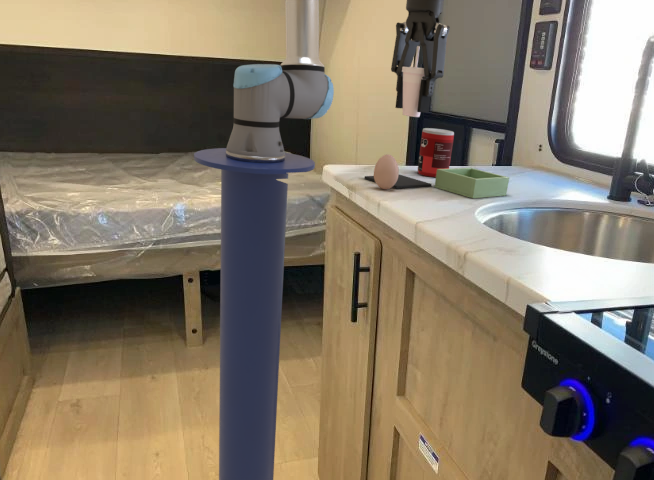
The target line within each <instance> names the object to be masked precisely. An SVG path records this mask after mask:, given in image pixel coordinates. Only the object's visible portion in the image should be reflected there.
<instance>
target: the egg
mask: <svg viewBox="0 0 654 480" xmlns="http://www.w3.org/2000/svg"><path fill="white" fill-rule="evenodd" d="M399 170H400V169H399V164H398V162H397V160H396V158H395V157H394V156H393V155H392V154H388V153H387V154H384V155H382V156H380V157H379V158H378V160H377V161H376V163H375V165H374V169H373V176H374V180H375V182H374V183H375V184H376V185H377V186H378V188H380V189H382V190H389V189H391V188H392V187H393V186H394V184H395V183H396V182H397V179H398V175H400V172H399Z"/></svg>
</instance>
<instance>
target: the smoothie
mask: <svg viewBox="0 0 654 480" xmlns="http://www.w3.org/2000/svg"><path fill="white" fill-rule="evenodd" d="M420 47H421V45H419V46H417V49H416V52H415V58H414V59H415V60H414V66H411V67H402V72H403V108H402V116H406V117H412V118H413V117H414V118H420V116H421V114H422V112H417V109H418V101H419V93H420V85H421V79H423V78H422V77H423V76H424V67H418V63H419V57H420V49H421V48H420ZM430 73H431V72H430ZM423 80H426V79H423Z"/></svg>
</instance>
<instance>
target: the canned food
mask: <svg viewBox="0 0 654 480" xmlns="http://www.w3.org/2000/svg"><path fill="white" fill-rule="evenodd" d="M454 137H455V132H454V131H453V130H448V129H442V128H432V127H430V128H429V127H425V128H422V132H421V139H420V147H419V153H418V154H419V156H418V164H417V173H418V175H421V176H425V177H429V178H436V173H437V169H450V164H451V158H452V153H453V152H452V151H453V147H454V146H453V145H454Z"/></svg>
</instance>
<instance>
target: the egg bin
mask: <svg viewBox="0 0 654 480" xmlns="http://www.w3.org/2000/svg"><path fill="white" fill-rule="evenodd" d="M434 181H435V182H434V188H436V189H439V190H443V191H446V192H450V193H452V194H457V195H459V196H463V197H467V198H469V199H481V198H482V199H483V198H492V197H503V196H504V197H505V196H507V194H508V189H509V188H508V187H509V182H510V177H509V176H505V175H501V174H497V173H494V172H489V171H485V170H481V169H478V168H473V167H457V168H449V169H437V173H436V177H435V180H434Z"/></svg>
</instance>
